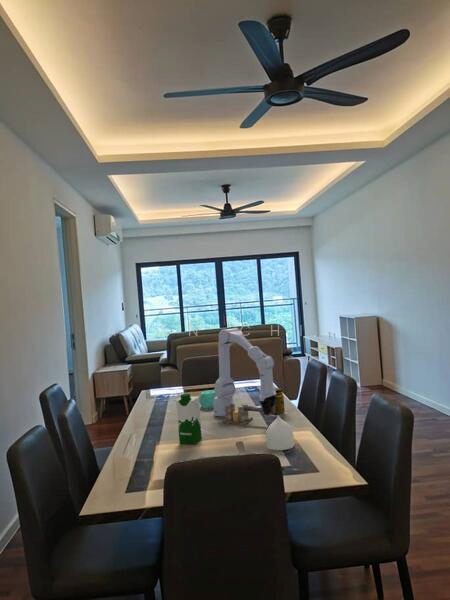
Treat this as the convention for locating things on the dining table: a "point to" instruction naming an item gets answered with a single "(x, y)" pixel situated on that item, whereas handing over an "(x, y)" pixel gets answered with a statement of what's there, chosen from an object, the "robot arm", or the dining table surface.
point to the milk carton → (188, 419)
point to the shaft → (259, 409)
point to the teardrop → (279, 435)
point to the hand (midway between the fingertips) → (268, 413)
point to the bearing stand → (241, 413)
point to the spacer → (235, 415)
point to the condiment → (279, 403)
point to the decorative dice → (207, 399)
